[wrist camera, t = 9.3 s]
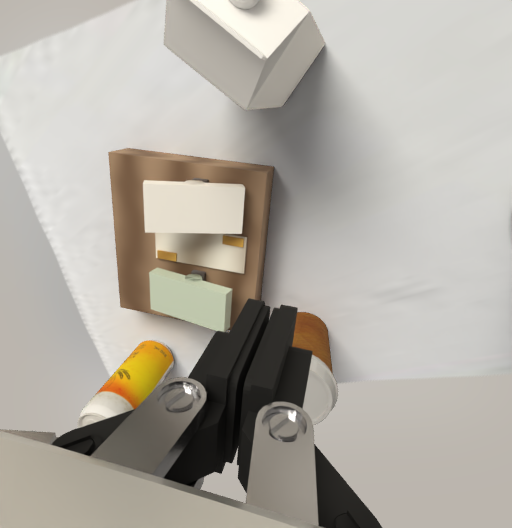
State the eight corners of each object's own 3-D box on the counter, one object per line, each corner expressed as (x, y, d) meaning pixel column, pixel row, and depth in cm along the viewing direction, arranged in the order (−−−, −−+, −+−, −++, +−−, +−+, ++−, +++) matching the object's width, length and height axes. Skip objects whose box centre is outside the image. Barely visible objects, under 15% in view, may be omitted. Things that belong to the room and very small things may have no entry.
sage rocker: (236, 285, 42) (226, 294, 40) (233, 322, 44) (223, 333, 42) (162, 264, 46) (149, 272, 43) (163, 300, 48) (150, 309, 46)
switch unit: (274, 166, 42) (265, 173, 38) (258, 318, 50) (250, 337, 46) (127, 148, 45) (104, 153, 41) (136, 293, 53) (117, 309, 49)
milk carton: (282, 107, 39) (228, 113, 22) (228, 64, 39) (132, 36, 22) (326, 43, 36) (302, -8, 19) (268, -6, 36) (192, -101, 19)
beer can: (143, 331, 56) (77, 403, 43) (180, 347, 56) (125, 426, 42) (135, 360, 59) (71, 437, 45) (171, 376, 58) (116, 458, 45)
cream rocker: (241, 182, 40) (245, 187, 38) (238, 226, 42) (241, 233, 40) (145, 178, 38) (142, 183, 36) (146, 224, 40) (144, 232, 38)
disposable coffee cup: (323, 291, 47) (315, 348, 36) (351, 353, 49) (351, 423, 38) (256, 312, 50) (230, 370, 39) (286, 369, 53) (269, 437, 42)
